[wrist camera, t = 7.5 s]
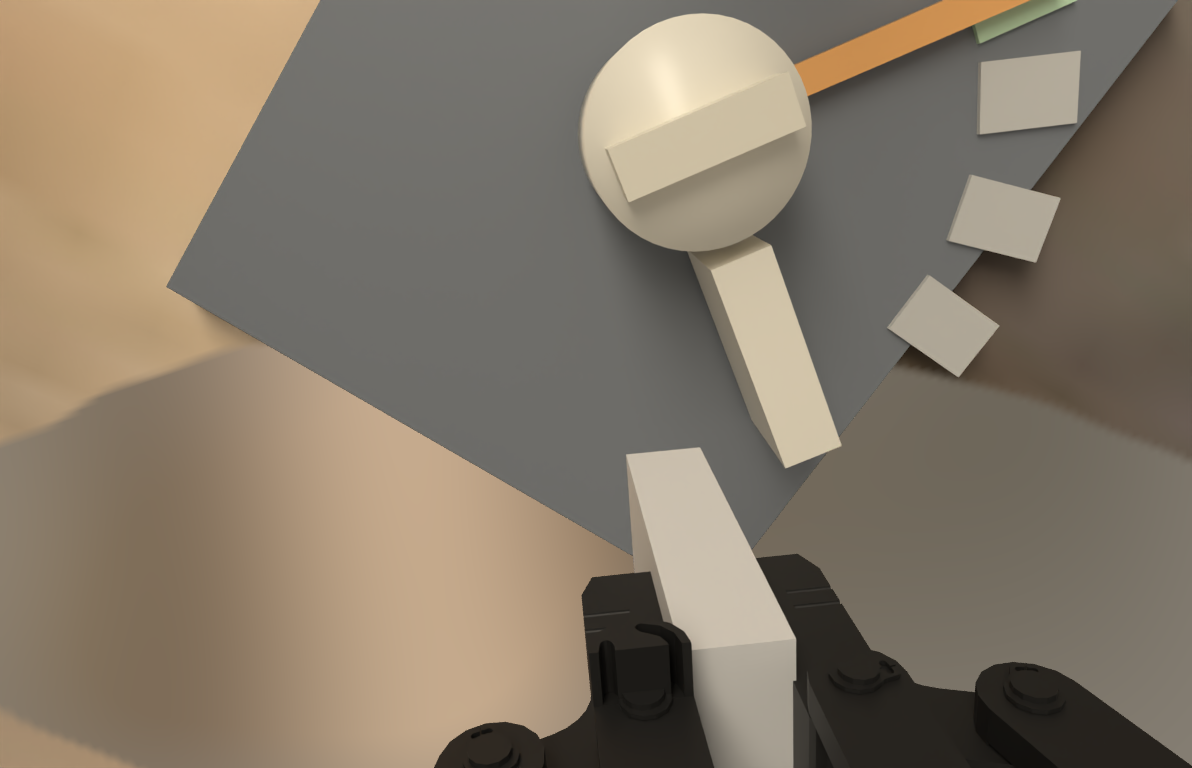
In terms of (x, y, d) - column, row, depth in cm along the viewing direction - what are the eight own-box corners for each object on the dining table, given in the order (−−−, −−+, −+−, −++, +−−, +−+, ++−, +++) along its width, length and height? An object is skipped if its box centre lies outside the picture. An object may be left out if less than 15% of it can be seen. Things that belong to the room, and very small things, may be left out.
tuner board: (184, 278, 29) (163, 287, 28) (612, -509, 24) (617, -556, 22) (746, 605, 34) (756, 629, 33) (1208, 19, 29) (1248, 13, 27)
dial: (694, 439, 30) (730, 516, 24) (547, 80, 27) (548, 68, 21) (1113, 268, 29) (1257, 305, 23) (1023, -130, 26) (1167, -206, 20)
